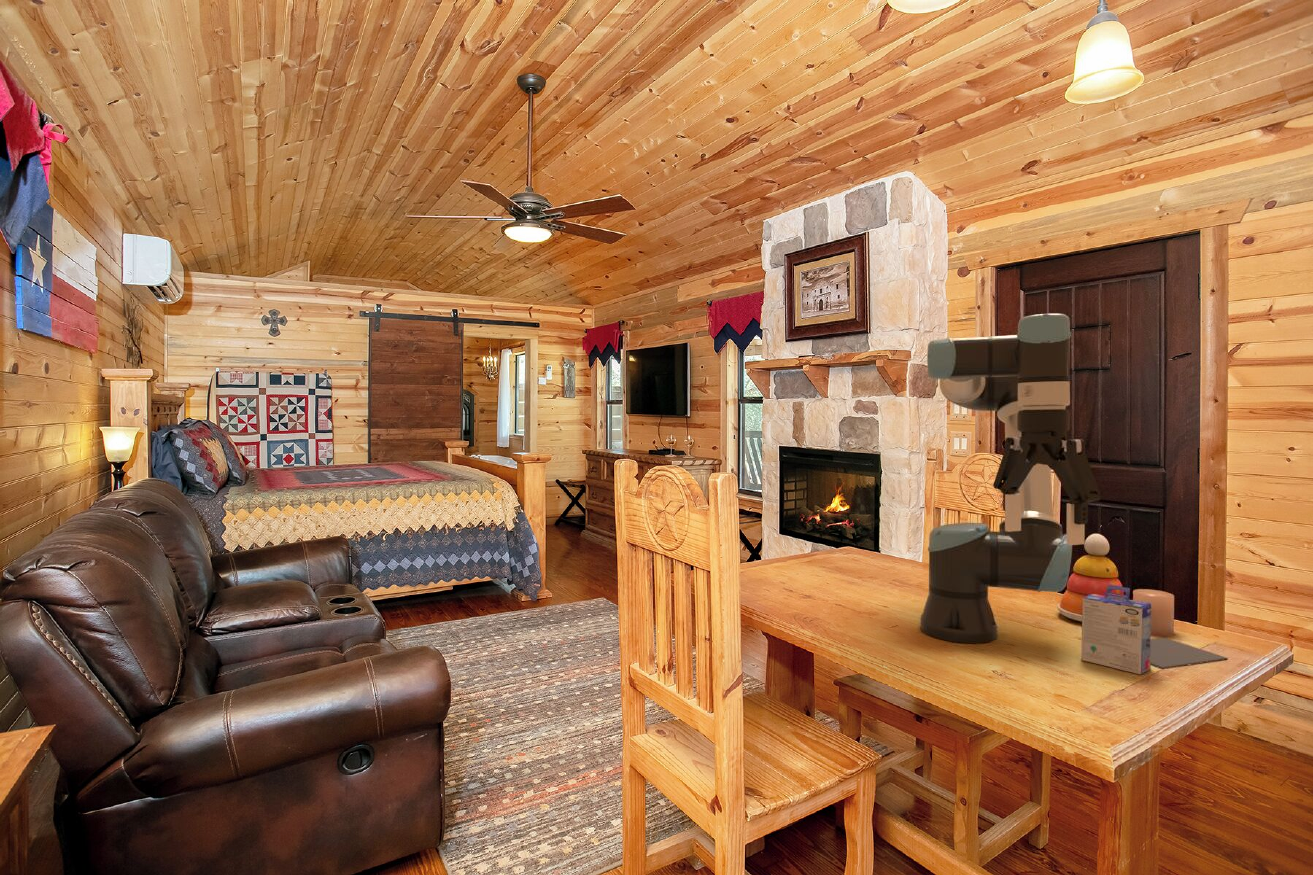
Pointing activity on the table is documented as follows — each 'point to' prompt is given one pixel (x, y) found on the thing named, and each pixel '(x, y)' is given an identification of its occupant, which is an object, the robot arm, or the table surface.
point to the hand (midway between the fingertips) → (1042, 537)
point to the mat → (1178, 654)
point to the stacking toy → (1089, 577)
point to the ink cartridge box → (1116, 631)
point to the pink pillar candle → (1158, 610)
